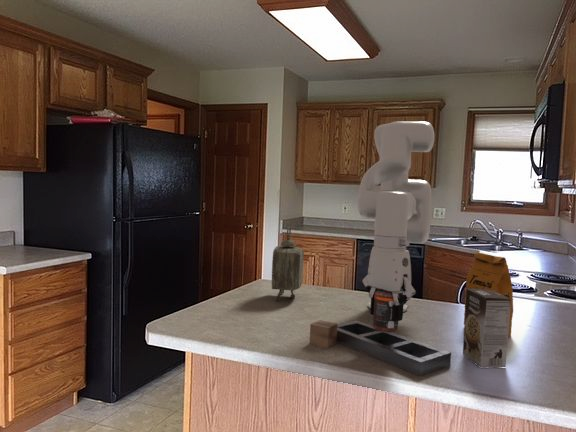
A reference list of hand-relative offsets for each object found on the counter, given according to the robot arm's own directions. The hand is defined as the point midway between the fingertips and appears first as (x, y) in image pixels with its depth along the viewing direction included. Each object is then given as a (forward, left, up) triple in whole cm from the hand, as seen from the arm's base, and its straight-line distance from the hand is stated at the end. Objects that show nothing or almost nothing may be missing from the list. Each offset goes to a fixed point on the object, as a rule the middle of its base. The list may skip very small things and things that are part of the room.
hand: (386, 316), depth 114 cm
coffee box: (-15, +17, -9) cm, 24 cm away
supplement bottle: (0, 0, -3) cm, 3 cm away
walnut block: (+9, -12, -9) cm, 17 cm away
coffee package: (-38, +5, -9) cm, 39 cm away
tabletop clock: (-12, -54, -9) cm, 56 cm away
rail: (0, 0, -8) cm, 8 cm away
